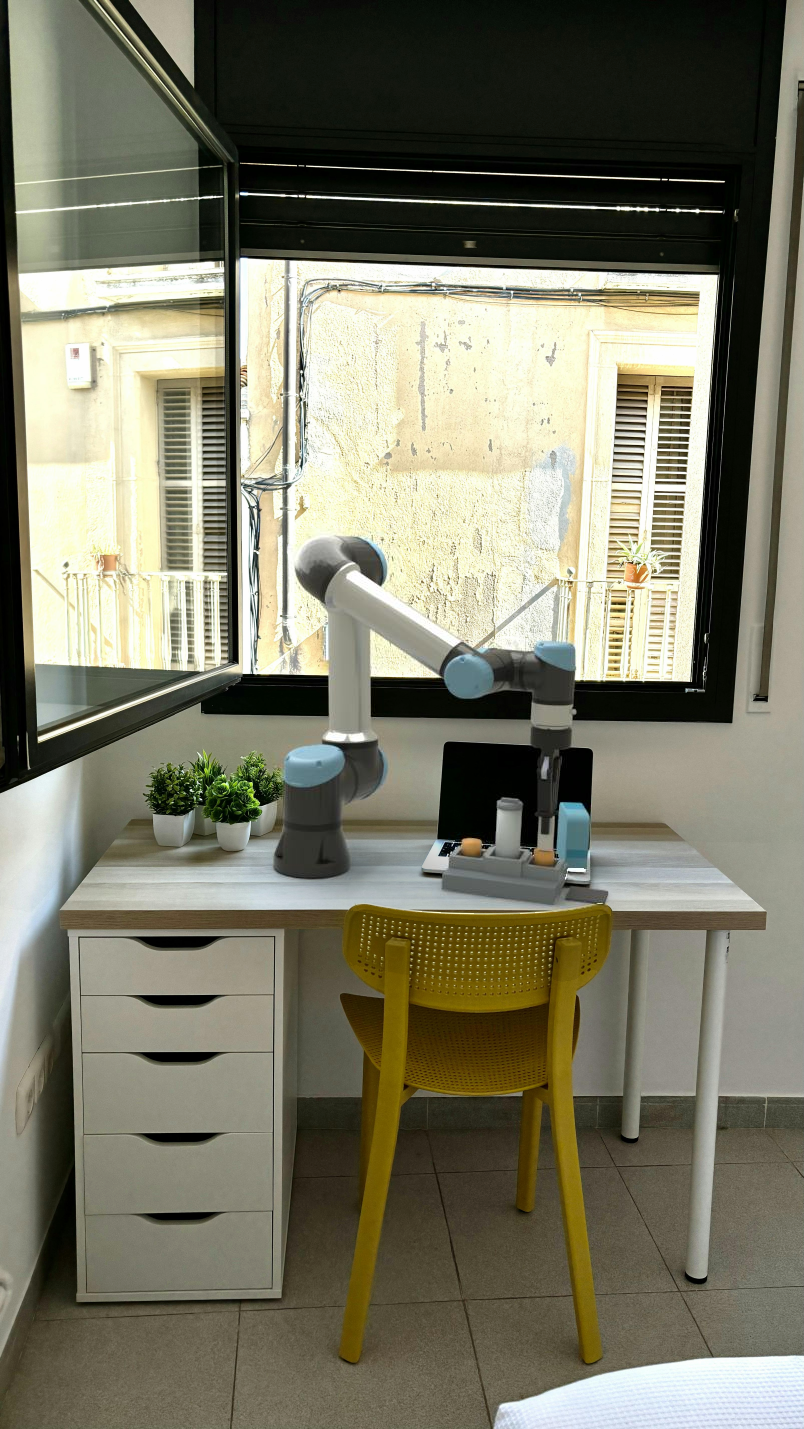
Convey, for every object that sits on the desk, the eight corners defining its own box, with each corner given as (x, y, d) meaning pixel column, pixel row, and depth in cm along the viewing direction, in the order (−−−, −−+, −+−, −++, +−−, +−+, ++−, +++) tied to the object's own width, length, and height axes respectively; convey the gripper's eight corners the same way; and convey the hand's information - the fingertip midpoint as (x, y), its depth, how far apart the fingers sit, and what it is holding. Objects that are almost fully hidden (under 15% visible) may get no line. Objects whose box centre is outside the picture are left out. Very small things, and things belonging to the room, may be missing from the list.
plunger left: (459, 855, 188) (459, 842, 188) (464, 849, 192) (464, 837, 191) (478, 857, 187) (479, 844, 186) (483, 852, 190) (483, 839, 190)
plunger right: (531, 865, 184) (532, 852, 183) (535, 859, 187) (536, 846, 187) (551, 867, 183) (552, 854, 182) (555, 861, 186) (555, 849, 186)
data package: (586, 875, 195) (590, 816, 193) (563, 874, 195) (567, 815, 193) (577, 856, 207) (581, 801, 205) (556, 855, 207) (559, 800, 205)
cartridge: (491, 870, 186) (494, 800, 184) (496, 863, 190) (500, 794, 188) (516, 874, 185) (520, 803, 182) (521, 866, 189) (525, 797, 187)
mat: (564, 899, 180) (565, 897, 180) (570, 888, 187) (570, 886, 187) (603, 905, 178) (603, 903, 178) (607, 893, 185) (608, 890, 185)
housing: (441, 889, 184) (442, 858, 183) (462, 864, 199) (464, 836, 198) (553, 904, 177) (555, 872, 176) (566, 878, 192) (568, 848, 191)
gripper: (566, 732, 174) (559, 861, 177) (576, 722, 186) (570, 842, 190) (524, 729, 176) (518, 856, 180) (537, 719, 188) (531, 838, 192)
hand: (545, 849), depth 185 cm, fingers closed
